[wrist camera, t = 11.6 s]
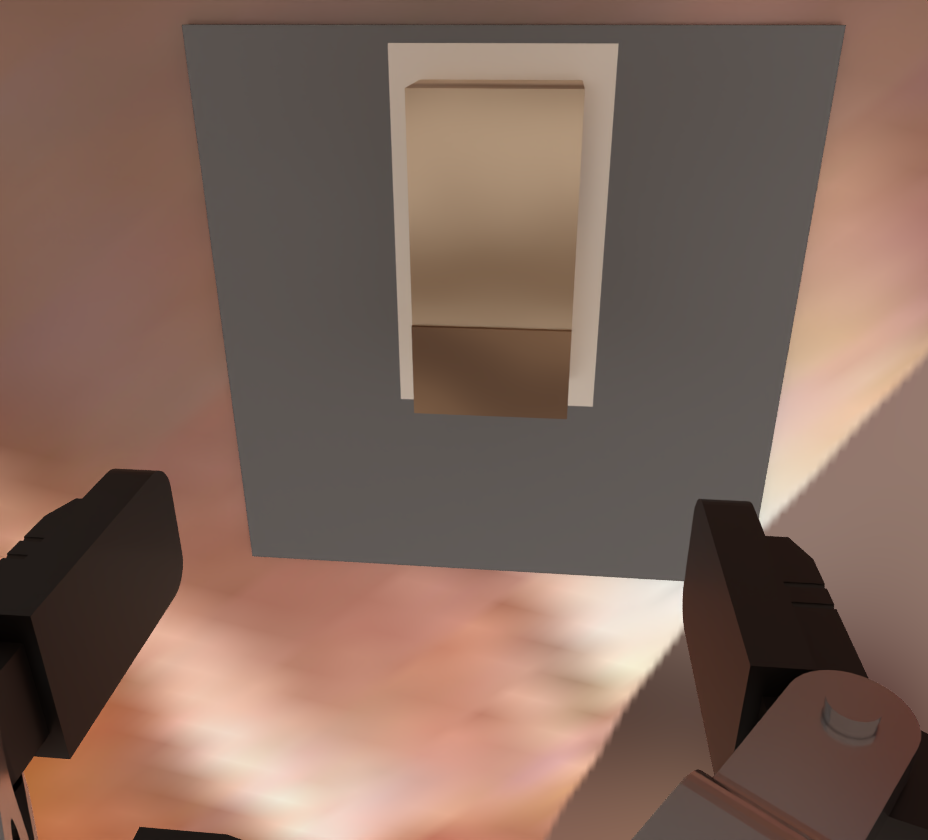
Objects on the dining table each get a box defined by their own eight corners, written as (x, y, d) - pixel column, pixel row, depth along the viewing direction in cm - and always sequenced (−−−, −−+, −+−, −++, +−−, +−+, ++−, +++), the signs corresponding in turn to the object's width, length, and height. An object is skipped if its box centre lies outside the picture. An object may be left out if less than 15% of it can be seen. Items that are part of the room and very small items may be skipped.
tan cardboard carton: (420, 79, 27) (403, 88, 24) (582, 79, 26) (585, 89, 23) (427, 375, 31) (414, 413, 28) (566, 380, 31) (567, 419, 28)
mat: (255, 550, 36) (251, 557, 35) (186, 24, 27) (180, 24, 27) (744, 578, 34) (747, 586, 34) (841, 24, 25) (846, 25, 25)
